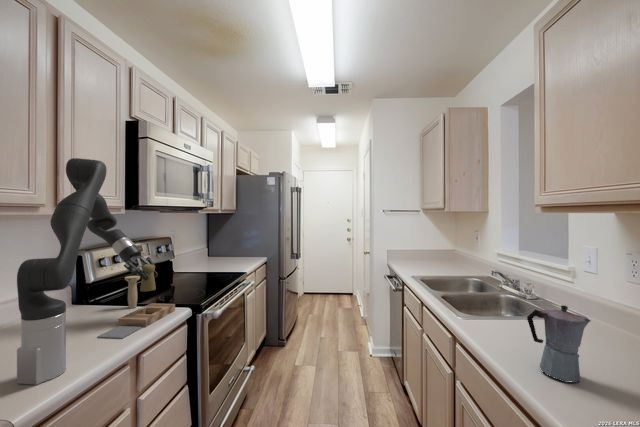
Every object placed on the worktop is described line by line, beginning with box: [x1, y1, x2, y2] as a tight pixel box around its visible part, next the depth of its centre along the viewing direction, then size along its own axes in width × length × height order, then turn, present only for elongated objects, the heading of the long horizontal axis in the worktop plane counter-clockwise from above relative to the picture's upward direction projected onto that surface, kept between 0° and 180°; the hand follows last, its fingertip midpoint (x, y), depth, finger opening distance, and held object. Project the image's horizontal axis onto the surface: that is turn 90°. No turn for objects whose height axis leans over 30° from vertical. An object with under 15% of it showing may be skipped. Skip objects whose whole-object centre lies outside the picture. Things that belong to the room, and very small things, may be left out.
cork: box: [139, 264, 157, 293], centre depth 127 cm, size 6×6×11 cm
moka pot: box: [526, 305, 592, 382], centre depth 82 cm, size 10×15×20 cm, turn 81°
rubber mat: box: [96, 325, 143, 340], centre depth 111 cm, size 10×10×1 cm
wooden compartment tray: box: [117, 302, 176, 328], centre depth 127 cm, size 20×12×3 cm, turn 175°
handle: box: [124, 275, 141, 309], centre depth 140 cm, size 5×6×15 cm
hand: (152, 277), depth 126 cm, fingers closed on cork, 5 cm apart
